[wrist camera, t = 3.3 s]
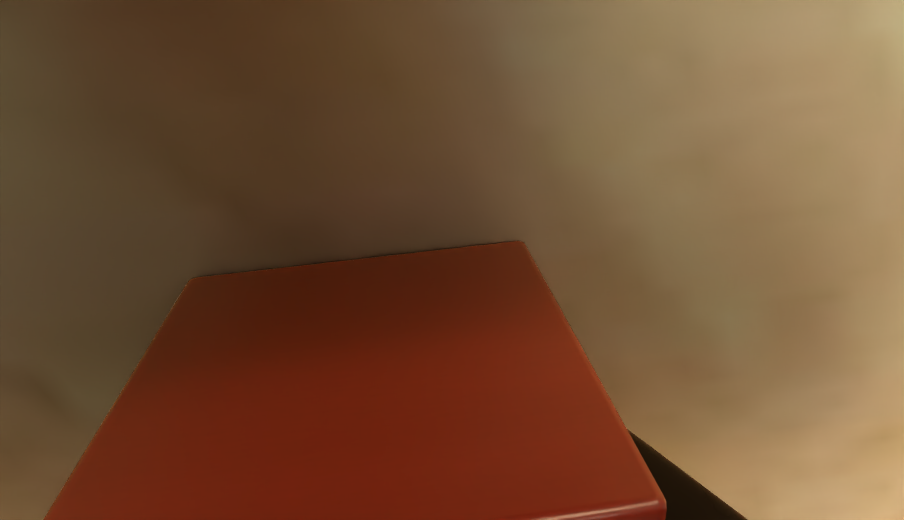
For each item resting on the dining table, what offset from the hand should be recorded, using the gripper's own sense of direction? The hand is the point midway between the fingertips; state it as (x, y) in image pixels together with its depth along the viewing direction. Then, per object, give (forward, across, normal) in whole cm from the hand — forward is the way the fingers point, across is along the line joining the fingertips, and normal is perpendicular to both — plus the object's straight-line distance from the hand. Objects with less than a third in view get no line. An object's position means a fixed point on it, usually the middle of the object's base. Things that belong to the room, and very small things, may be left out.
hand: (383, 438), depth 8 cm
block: (+1, 0, 0) cm, 1 cm away
